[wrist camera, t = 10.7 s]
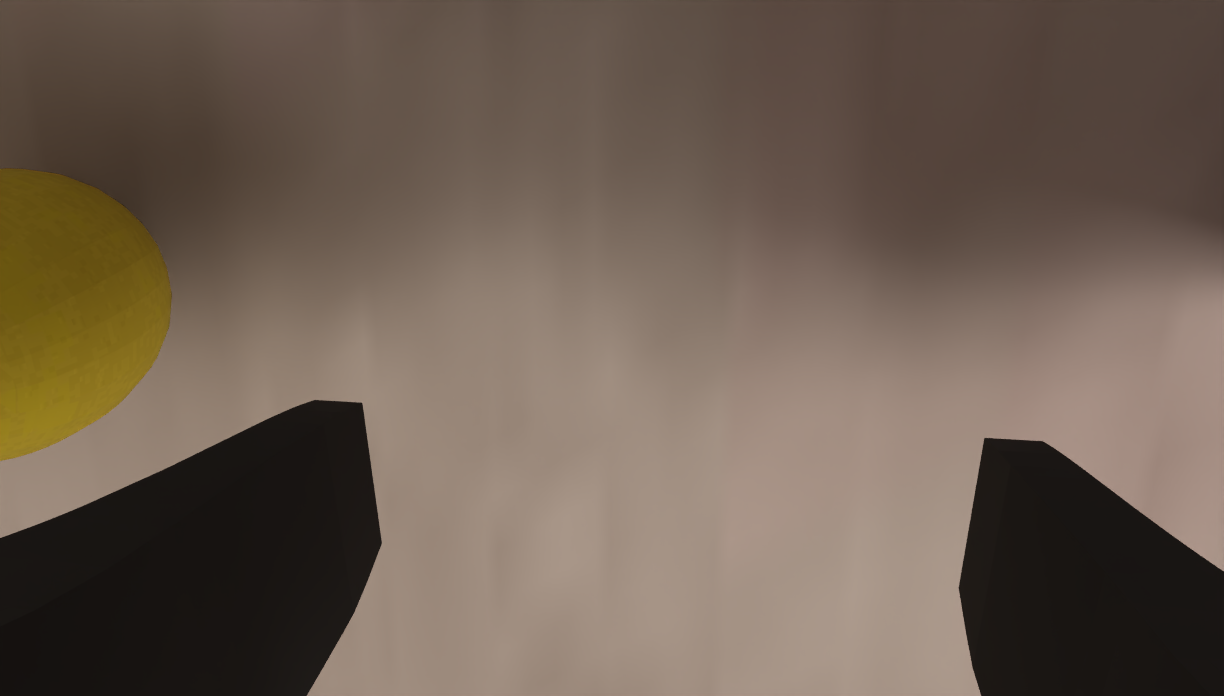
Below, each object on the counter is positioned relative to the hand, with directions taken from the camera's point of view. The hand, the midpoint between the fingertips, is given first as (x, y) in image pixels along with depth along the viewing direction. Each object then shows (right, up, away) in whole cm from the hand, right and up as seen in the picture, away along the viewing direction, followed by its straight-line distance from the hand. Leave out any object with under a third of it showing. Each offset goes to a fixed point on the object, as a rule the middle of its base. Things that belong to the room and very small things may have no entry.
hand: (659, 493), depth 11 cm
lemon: (-12, +4, +12) cm, 17 cm away
